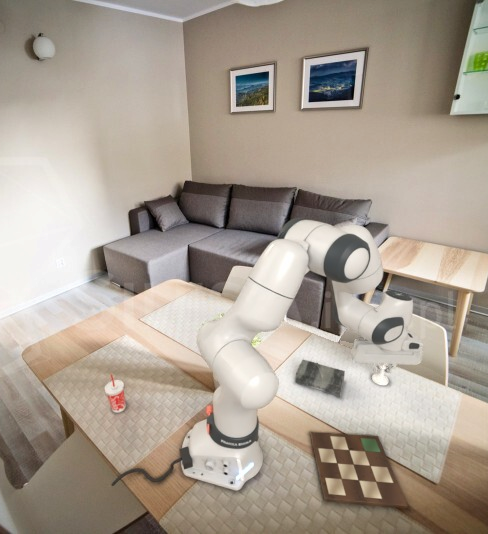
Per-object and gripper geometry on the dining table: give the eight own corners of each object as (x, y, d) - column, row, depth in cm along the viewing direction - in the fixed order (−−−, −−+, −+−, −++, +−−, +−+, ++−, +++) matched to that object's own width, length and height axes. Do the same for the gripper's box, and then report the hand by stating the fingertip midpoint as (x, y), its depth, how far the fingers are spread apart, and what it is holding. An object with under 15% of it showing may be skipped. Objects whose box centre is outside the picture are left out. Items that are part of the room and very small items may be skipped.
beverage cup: (106, 412, 107) (97, 379, 101) (116, 398, 112) (108, 366, 106) (122, 416, 105) (114, 383, 99) (131, 401, 110) (124, 369, 104)
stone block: (302, 367, 119) (303, 355, 116) (345, 380, 111) (346, 368, 109) (295, 383, 112) (295, 371, 110) (340, 398, 105) (341, 386, 102)
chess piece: (387, 376, 111) (393, 353, 107) (388, 386, 107) (394, 363, 103) (371, 373, 113) (376, 350, 109) (372, 383, 109) (376, 359, 105)
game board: (324, 501, 78) (325, 498, 77) (310, 434, 94) (310, 431, 93) (406, 509, 75) (407, 505, 74) (377, 438, 91) (378, 435, 91)
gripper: (357, 343, 102) (351, 377, 107) (429, 345, 99) (419, 379, 104) (351, 331, 107) (346, 364, 113) (419, 332, 104) (410, 366, 110)
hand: (381, 371), depth 109 cm, fingers closed on chess piece
